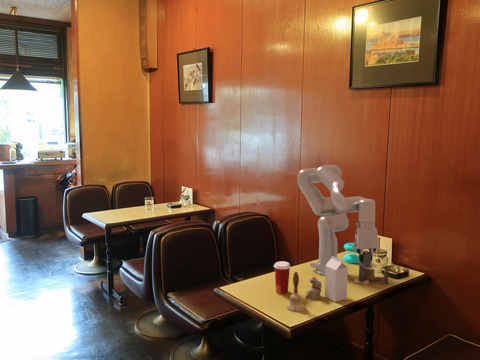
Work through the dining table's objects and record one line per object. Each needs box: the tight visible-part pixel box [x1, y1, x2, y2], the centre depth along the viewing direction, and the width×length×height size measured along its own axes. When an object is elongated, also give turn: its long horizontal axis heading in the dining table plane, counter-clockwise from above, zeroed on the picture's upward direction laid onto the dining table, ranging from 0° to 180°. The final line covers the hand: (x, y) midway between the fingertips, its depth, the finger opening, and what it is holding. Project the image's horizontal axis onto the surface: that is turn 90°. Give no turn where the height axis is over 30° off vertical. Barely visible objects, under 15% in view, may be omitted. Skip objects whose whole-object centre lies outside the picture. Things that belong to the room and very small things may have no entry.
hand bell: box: [285, 271, 306, 313], centre depth 168 cm, size 8×8×16 cm
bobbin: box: [353, 260, 370, 286], centre depth 196 cm, size 7×7×11 cm
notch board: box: [365, 268, 390, 285], centre depth 198 cm, size 14×5×6 cm, turn 77°
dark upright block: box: [360, 249, 372, 269], centre depth 187 cm, size 4×4×8 cm
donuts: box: [343, 242, 359, 264], centre depth 227 cm, size 10×10×10 cm
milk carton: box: [324, 256, 349, 303], centre depth 177 cm, size 7×7×19 cm
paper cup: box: [273, 260, 291, 295], centre depth 184 cm, size 8×8×14 cm
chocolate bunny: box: [305, 275, 323, 300], centre depth 179 cm, size 6×8×10 cm
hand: (365, 261), depth 187 cm, fingers closed on dark upright block, 3 cm apart
